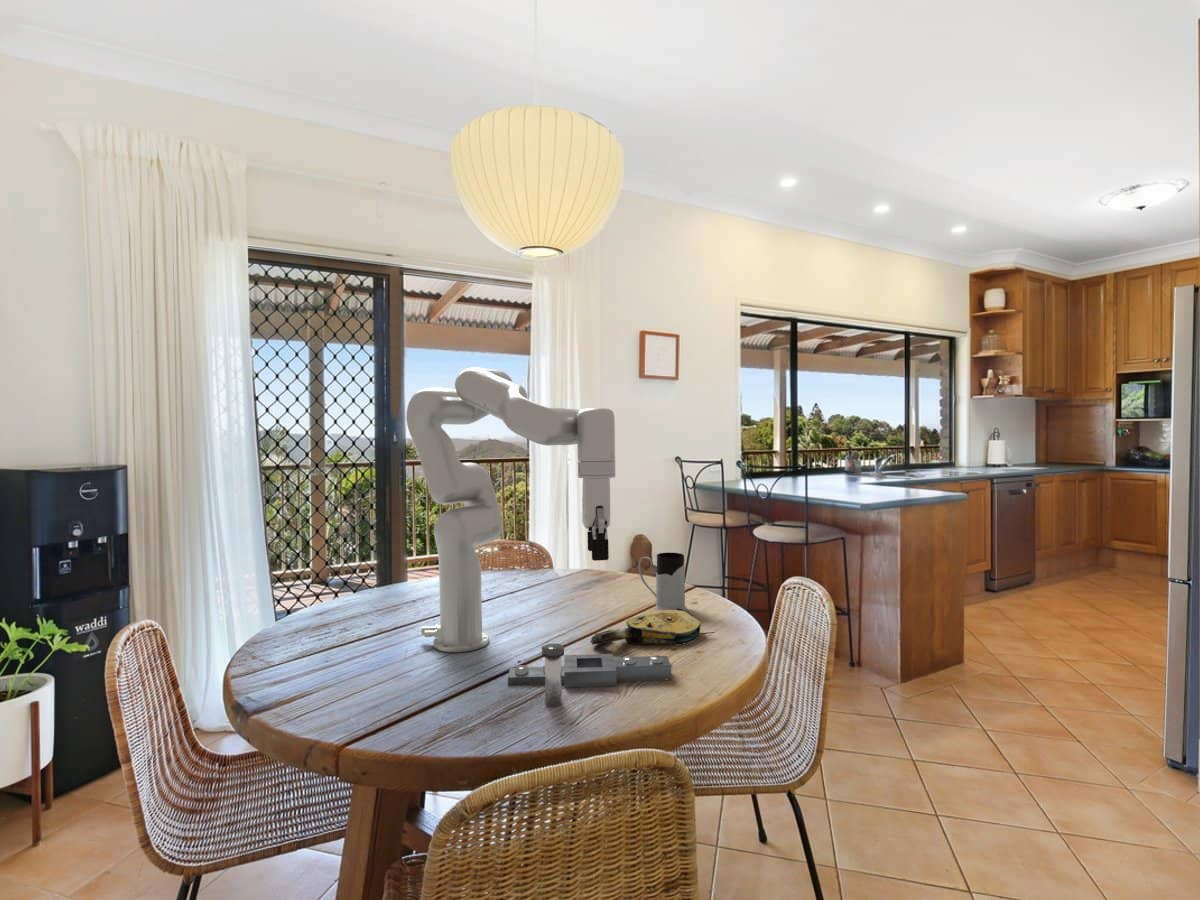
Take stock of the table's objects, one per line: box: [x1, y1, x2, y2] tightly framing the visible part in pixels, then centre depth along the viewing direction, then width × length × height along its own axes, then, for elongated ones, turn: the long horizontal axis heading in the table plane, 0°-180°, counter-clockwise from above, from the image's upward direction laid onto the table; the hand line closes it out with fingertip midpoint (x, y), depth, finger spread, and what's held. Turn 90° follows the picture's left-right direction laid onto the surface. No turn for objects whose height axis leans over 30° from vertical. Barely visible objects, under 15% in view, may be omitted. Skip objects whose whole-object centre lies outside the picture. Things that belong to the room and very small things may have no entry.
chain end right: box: [563, 653, 672, 683], centre depth 123 cm, size 21×9×4 cm, turn 93°
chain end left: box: [507, 664, 617, 689], centre depth 122 cm, size 21×9×2 cm, turn 93°
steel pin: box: [541, 643, 565, 708], centre depth 111 cm, size 4×4×10 cm
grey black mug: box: [638, 552, 688, 611], centre depth 170 cm, size 9×14×15 cm, turn 58°
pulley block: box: [589, 608, 715, 646], centre depth 145 cm, size 14×6×30 cm
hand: (597, 555), depth 123 cm, fingers open, 9 cm apart
